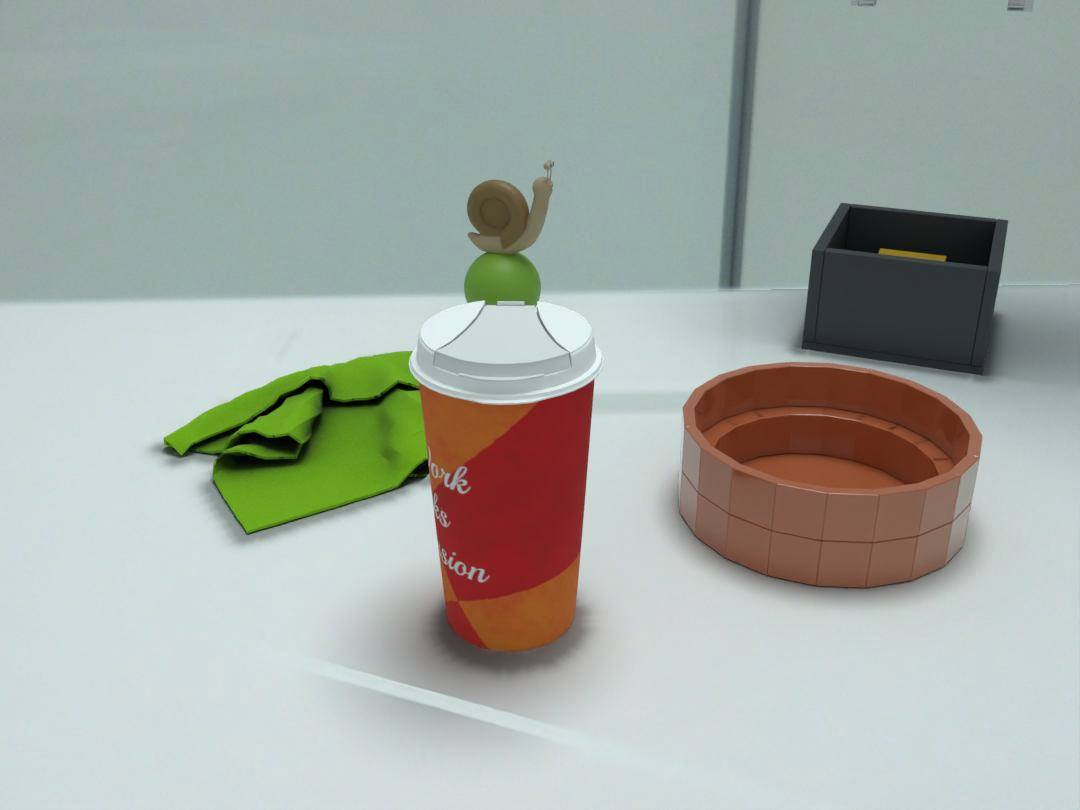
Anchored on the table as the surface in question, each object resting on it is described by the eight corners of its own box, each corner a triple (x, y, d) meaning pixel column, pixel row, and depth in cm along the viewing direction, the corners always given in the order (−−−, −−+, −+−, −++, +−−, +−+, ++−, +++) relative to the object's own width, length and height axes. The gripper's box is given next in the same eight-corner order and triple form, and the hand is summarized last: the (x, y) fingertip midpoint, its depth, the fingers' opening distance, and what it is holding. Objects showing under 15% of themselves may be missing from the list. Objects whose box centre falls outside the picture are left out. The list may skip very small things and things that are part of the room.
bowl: (972, 478, 62) (989, 386, 60) (951, 627, 51) (971, 520, 48) (716, 432, 67) (722, 346, 65) (642, 559, 56) (647, 459, 53)
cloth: (530, 359, 77) (529, 325, 76) (513, 537, 57) (512, 495, 56) (226, 356, 77) (222, 322, 76) (106, 531, 58) (98, 490, 57)
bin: (991, 314, 84) (1008, 219, 81) (981, 376, 74) (1001, 271, 71) (830, 293, 88) (840, 202, 85) (801, 349, 78) (812, 249, 75)
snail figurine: (540, 343, 79) (540, 171, 74) (453, 332, 81) (447, 163, 76) (563, 315, 84) (564, 151, 79) (480, 305, 86) (476, 144, 80)
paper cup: (435, 570, 55) (421, 292, 49) (597, 573, 54) (603, 294, 48) (412, 677, 48) (392, 369, 42) (598, 681, 47) (605, 372, 41)
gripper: (1167, -247, 66) (1118, 6, 72) (807, -234, 73) (790, -3, 79) (1177, -254, 61) (1122, 21, 67) (788, -238, 68) (771, 9, 74)
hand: (939, 8), depth 73 cm, fingers open, 8 cm apart
